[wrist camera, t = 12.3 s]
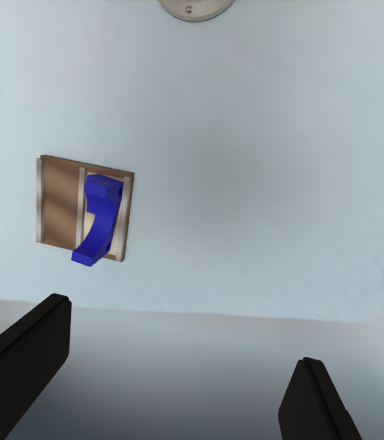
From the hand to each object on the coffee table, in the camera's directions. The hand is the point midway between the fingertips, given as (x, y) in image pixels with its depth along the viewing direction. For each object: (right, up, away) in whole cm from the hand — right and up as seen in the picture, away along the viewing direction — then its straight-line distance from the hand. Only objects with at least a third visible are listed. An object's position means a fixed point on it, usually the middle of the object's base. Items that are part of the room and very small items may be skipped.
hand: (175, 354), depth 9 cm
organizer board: (-17, +7, +30) cm, 35 cm away
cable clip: (-14, +6, +29) cm, 32 cm away
